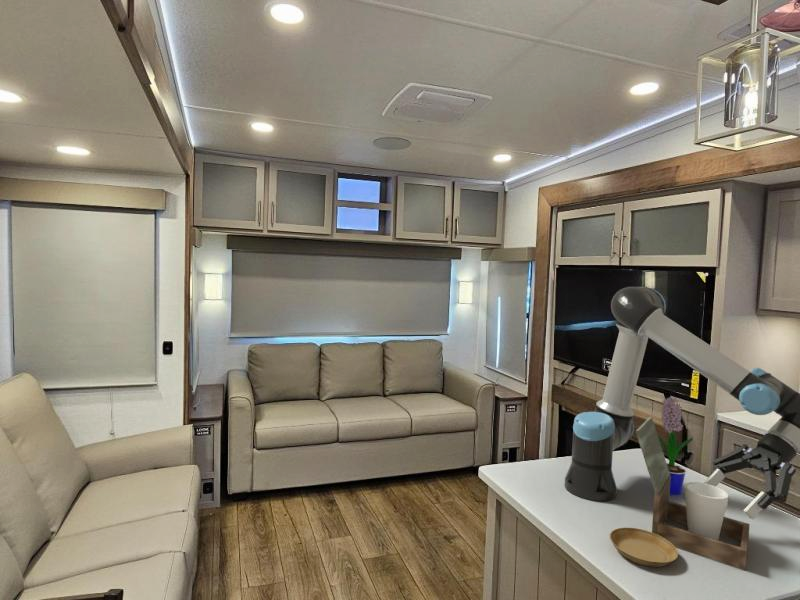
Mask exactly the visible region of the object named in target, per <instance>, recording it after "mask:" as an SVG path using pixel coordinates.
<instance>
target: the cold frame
mask: <svg viewBox="0 0 800 600" xmlns="http://www.w3.org/2000/svg"><path fill="white" fill-rule="evenodd" d="M635 434H636V436H637V440H638V443H639V446H640V450H641V452H642V456H643V458H644V462H645V466H646V469H647V471H648V474H649V477H650V479H649V480H650V482H651V485H652V488H653V490H654V496H653V508H652V509H653V510H652V525H651V532H652V533H655V534H657V535H659V536H661V537H663V538H665V539H666V540H668V541H669V542H670V543H672V544H673V545H674V546H675V548H676V549H680V550H683V551H686V552H689V553H691V554H693V555H698V556H700V557H704V558H707V559H710V560H713V561H715V562H719V563H722V564H724V565H727V566H730V567H733V568H736V569H739V570H742V571H746V566H747V565H746V564H747V557H748V550H749V549H748V547H749V539H750V538H749V537H750V523H748V522H744V521H740V520H738V519H733V518H730V517H726V516H724V518H723V522H722V527H721V531H720V535H719V536H724V537H728V538H731V539H734V540H737V541H740V546H737V545H734V544H731V543H728V542H724V541H721V540H719V539H718V540H715V539H712V538H709V537H706V536H702V535H699V534H696V533H693V532H690V531H688V530H685V529H683V528H680V527H676V526H674V525H670V524H667V523H666V522H667V520H668V519H669V520H672V521H673V522H674V521H675V522H678V523H681V524H685V525H687V513H686V504H685V505H684V504H680V503H677V502H673V501H671V500H670V498H671V497H670V495H671V494H670V482H671V475H670V472H669V469H668V466H667V461H666V460H667V459H666V458H665V454H664V451H663V448H662V443H661V442H660V440H659V438H658V436H659V435H658V432H657V429H656V427H655V424H654V420H653V417H651V416H650V417H647V419H646V420H645V421H644V422H643V423H642V424H641V425H640V426H639V427H637V429H636V430H635Z"/></svg>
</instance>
